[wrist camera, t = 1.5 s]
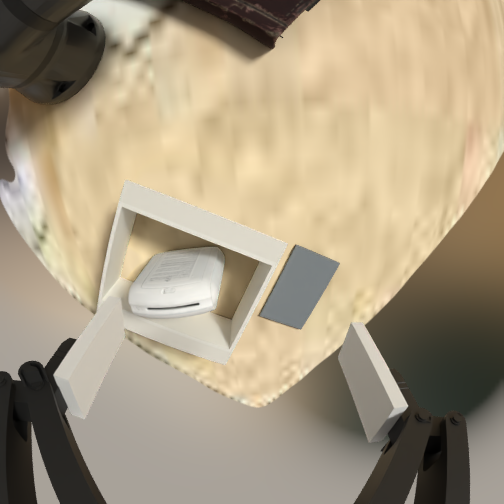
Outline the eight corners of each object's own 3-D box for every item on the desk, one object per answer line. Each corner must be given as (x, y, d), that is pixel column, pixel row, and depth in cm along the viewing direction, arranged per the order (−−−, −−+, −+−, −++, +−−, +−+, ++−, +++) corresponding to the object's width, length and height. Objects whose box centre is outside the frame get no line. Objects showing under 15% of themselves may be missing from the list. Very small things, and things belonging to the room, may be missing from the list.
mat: (259, 314, 43) (259, 315, 42) (295, 244, 39) (296, 245, 39) (300, 327, 44) (301, 329, 44) (338, 262, 40) (339, 263, 40)
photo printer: (157, 279, 40) (129, 328, 29) (150, 251, 39) (117, 294, 27) (227, 271, 40) (221, 323, 29) (222, 242, 39) (213, 286, 27)
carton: (114, 291, 41) (96, 315, 35) (145, 172, 35) (125, 179, 28) (227, 335, 44) (225, 365, 38) (280, 225, 38) (287, 243, 31)
